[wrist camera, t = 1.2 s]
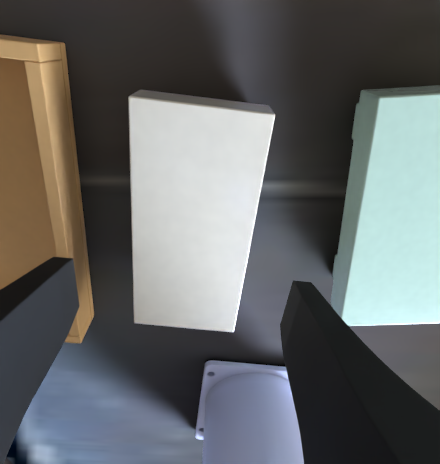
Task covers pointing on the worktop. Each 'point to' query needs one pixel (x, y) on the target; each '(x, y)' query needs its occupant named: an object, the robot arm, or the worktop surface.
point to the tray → (40, 169)
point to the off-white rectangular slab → (193, 205)
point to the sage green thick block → (391, 212)
